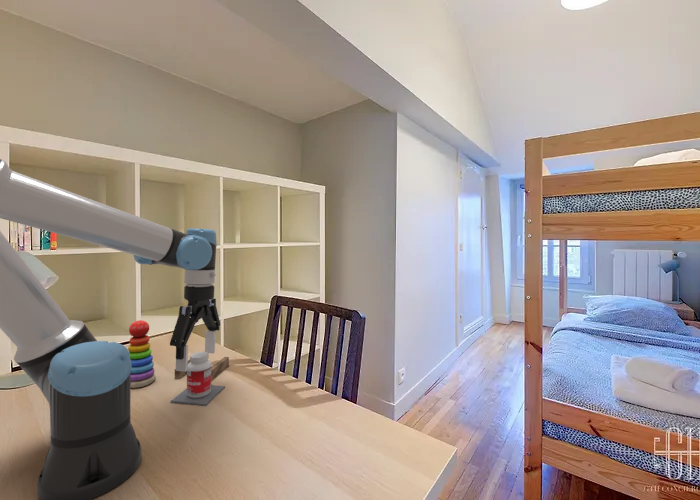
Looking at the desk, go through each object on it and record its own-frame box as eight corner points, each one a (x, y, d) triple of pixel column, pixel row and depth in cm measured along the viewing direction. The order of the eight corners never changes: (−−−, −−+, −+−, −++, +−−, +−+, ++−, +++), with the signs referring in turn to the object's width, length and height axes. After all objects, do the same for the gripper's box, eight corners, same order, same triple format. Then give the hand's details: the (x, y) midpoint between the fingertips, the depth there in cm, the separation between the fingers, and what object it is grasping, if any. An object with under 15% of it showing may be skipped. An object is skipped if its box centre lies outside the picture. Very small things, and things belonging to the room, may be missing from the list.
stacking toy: (161, 377, 100) (161, 318, 99) (142, 390, 92) (142, 325, 91) (138, 375, 100) (137, 316, 99) (117, 388, 92) (116, 323, 92)
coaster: (206, 405, 84) (206, 403, 84) (170, 402, 85) (170, 400, 85) (224, 387, 94) (224, 386, 94) (192, 385, 95) (192, 383, 95)
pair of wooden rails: (210, 381, 98) (210, 371, 98) (174, 378, 99) (174, 369, 99) (228, 365, 110) (228, 357, 110) (197, 363, 111) (197, 354, 111)
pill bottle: (181, 396, 88) (181, 356, 88) (199, 386, 94) (199, 349, 93) (199, 400, 86) (199, 360, 85) (215, 390, 92) (216, 352, 91)
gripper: (184, 292, 76) (181, 381, 76) (233, 280, 100) (230, 347, 101) (155, 290, 76) (151, 378, 77) (210, 278, 101) (208, 345, 102)
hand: (196, 361), depth 89 cm, fingers open, 13 cm apart
